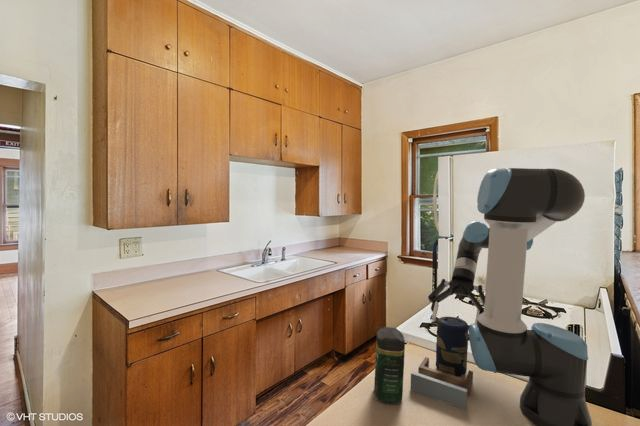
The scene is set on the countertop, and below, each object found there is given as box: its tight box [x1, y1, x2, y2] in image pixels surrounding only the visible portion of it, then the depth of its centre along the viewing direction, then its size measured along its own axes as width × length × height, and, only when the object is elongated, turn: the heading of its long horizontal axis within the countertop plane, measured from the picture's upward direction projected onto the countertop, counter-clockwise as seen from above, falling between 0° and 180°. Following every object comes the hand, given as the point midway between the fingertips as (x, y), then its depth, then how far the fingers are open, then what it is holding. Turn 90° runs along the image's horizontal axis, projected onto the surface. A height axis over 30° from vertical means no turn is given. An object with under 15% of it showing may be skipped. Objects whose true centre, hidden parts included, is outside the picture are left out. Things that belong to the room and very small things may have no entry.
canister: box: [435, 316, 469, 378], centre depth 103 cm, size 10×10×18 cm
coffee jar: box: [373, 326, 406, 405], centre depth 90 cm, size 10×8×19 cm
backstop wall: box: [409, 370, 468, 411], centre depth 89 cm, size 15×2×5 cm, turn 56°
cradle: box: [417, 356, 474, 398], centre depth 97 cm, size 14×8×4 cm, turn 56°
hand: (453, 324), depth 107 cm, fingers open, 13 cm apart
